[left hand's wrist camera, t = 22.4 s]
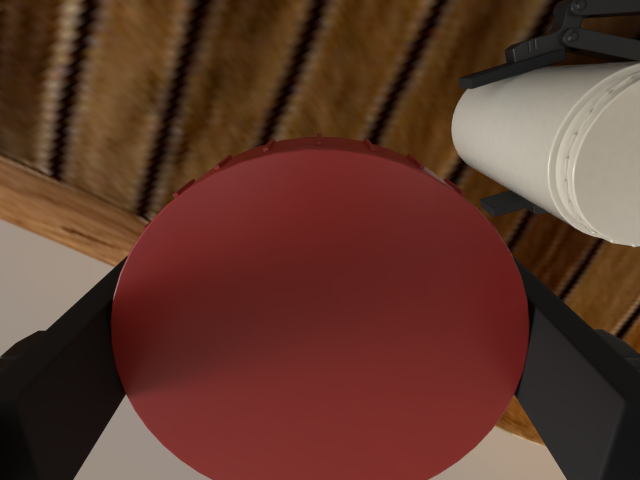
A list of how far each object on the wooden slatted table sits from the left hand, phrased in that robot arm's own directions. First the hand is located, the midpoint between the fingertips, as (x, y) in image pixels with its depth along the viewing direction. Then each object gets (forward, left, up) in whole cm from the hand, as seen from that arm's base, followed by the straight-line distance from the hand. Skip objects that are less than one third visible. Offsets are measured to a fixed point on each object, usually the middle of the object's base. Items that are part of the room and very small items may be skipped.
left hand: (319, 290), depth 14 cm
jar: (-8, +14, -27) cm, 32 cm away
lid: (0, 0, +3) cm, 3 cm away
